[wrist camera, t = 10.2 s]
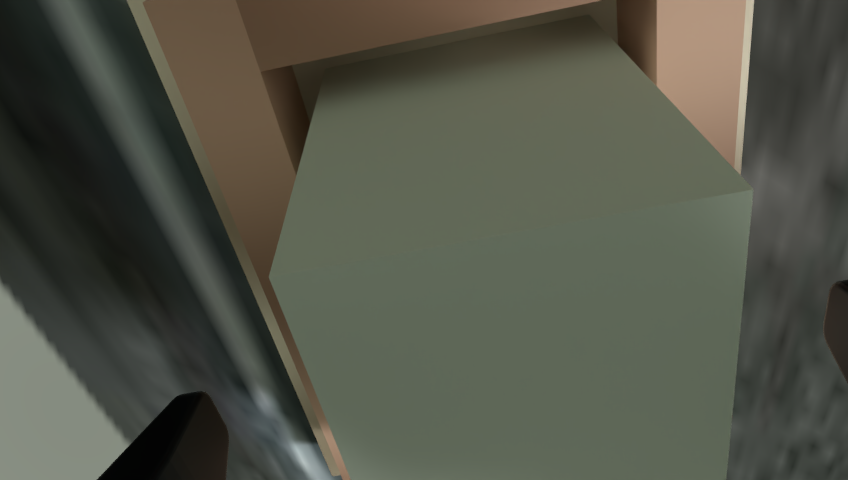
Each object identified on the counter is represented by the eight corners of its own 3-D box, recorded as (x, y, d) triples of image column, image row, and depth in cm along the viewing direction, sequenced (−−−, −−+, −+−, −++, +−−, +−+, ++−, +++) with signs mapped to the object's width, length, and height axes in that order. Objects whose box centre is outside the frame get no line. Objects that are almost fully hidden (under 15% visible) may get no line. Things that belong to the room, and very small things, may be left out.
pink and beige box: (706, 384, 17) (759, 482, 15) (335, 445, 18) (325, 548, 15) (743, -284, 10) (866, -316, 7) (98, -130, 10) (4, -111, 8)
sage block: (588, 14, 11) (753, 188, 6) (606, 329, 15) (715, 598, 10) (325, 68, 11) (268, 276, 6) (408, 362, 15) (415, 639, 10)
